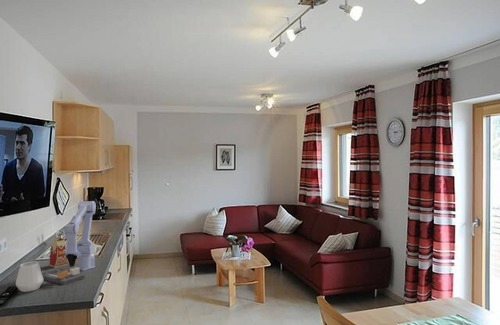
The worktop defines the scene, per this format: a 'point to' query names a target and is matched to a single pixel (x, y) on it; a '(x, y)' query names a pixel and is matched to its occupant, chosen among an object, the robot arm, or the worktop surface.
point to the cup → (29, 277)
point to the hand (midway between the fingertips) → (72, 266)
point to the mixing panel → (53, 277)
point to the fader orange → (62, 274)
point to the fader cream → (74, 271)
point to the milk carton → (58, 253)
